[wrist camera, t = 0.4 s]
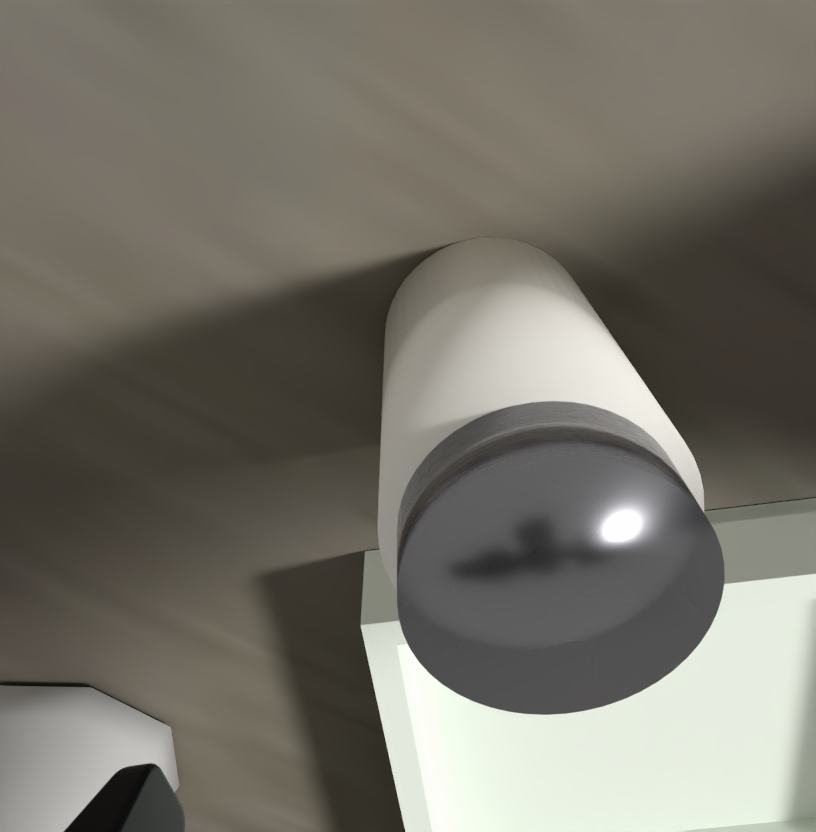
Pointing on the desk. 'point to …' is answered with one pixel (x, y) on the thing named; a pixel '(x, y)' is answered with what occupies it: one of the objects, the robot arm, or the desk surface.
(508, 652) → the cylinder
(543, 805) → the tray
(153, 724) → the flask
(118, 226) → the desk surface
